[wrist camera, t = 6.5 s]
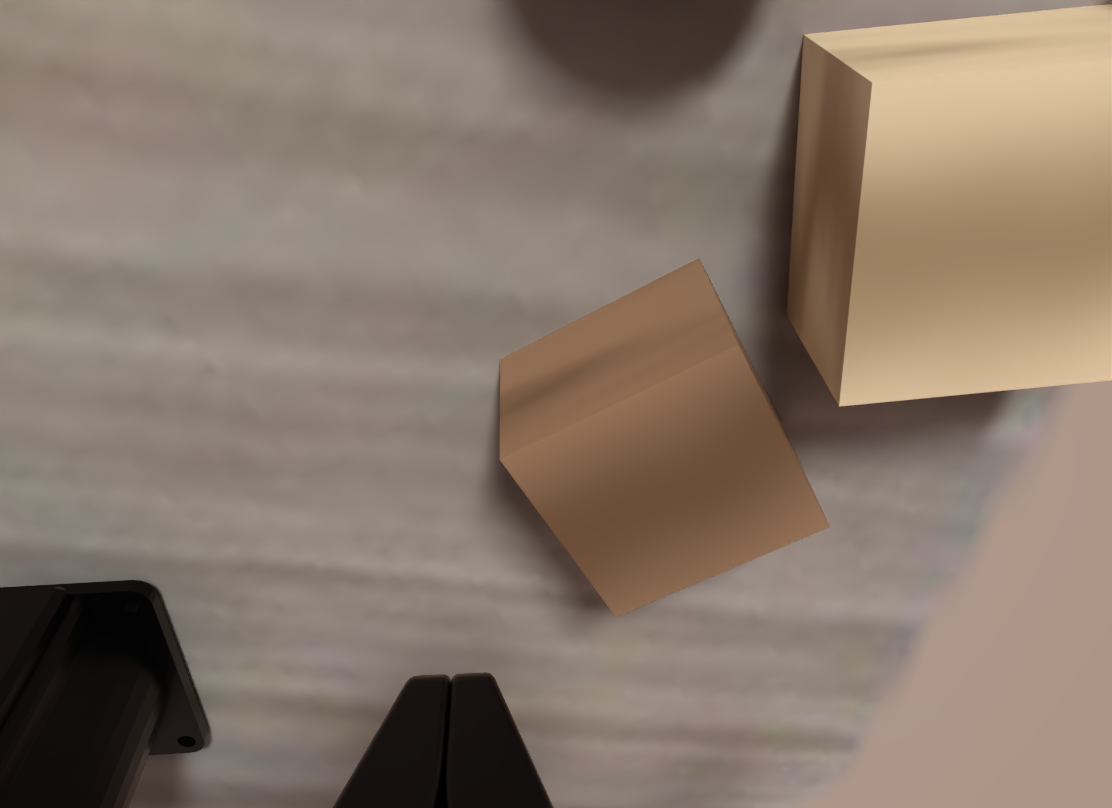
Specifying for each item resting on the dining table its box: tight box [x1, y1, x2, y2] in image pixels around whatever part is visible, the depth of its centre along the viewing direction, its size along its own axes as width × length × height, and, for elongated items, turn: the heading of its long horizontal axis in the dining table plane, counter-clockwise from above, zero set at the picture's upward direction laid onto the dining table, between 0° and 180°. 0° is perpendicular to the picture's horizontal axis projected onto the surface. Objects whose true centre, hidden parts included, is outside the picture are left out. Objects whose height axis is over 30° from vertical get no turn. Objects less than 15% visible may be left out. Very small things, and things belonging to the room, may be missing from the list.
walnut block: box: [500, 258, 830, 617], centre depth 20 cm, size 5×5×4 cm
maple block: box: [787, 4, 1112, 406], centre depth 17 cm, size 6×6×4 cm
